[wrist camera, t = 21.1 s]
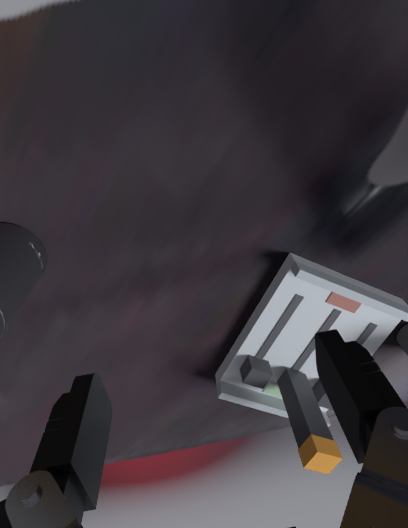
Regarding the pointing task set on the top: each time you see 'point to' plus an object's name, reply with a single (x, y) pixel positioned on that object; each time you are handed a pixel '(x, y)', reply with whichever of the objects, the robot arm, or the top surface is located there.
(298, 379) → the handle
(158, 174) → the top surface
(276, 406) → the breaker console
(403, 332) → the flask
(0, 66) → the top surface
